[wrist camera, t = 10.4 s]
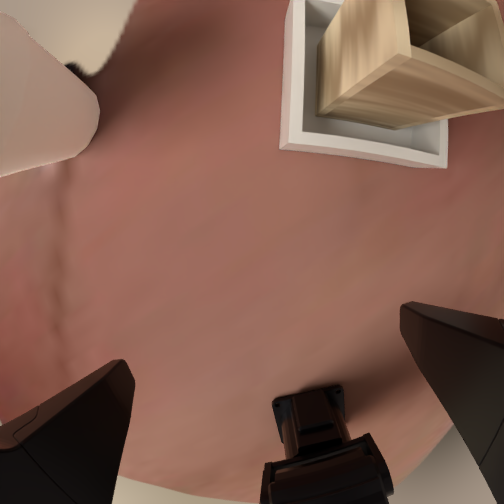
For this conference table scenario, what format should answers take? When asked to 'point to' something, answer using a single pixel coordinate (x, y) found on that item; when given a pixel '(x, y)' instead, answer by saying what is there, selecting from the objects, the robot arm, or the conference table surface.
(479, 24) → the birch caddy
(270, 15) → the conference table surface
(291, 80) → the white tray
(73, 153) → the foam cup
